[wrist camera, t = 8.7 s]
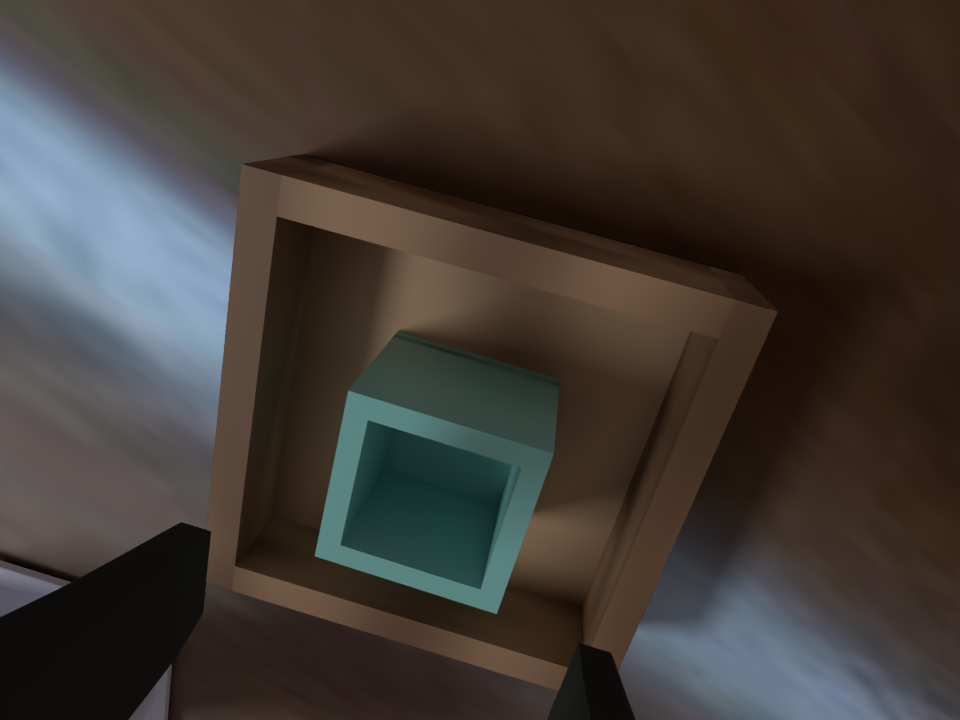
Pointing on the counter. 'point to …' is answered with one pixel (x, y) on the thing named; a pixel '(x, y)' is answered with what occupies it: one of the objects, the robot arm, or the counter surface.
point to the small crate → (439, 469)
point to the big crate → (484, 331)
